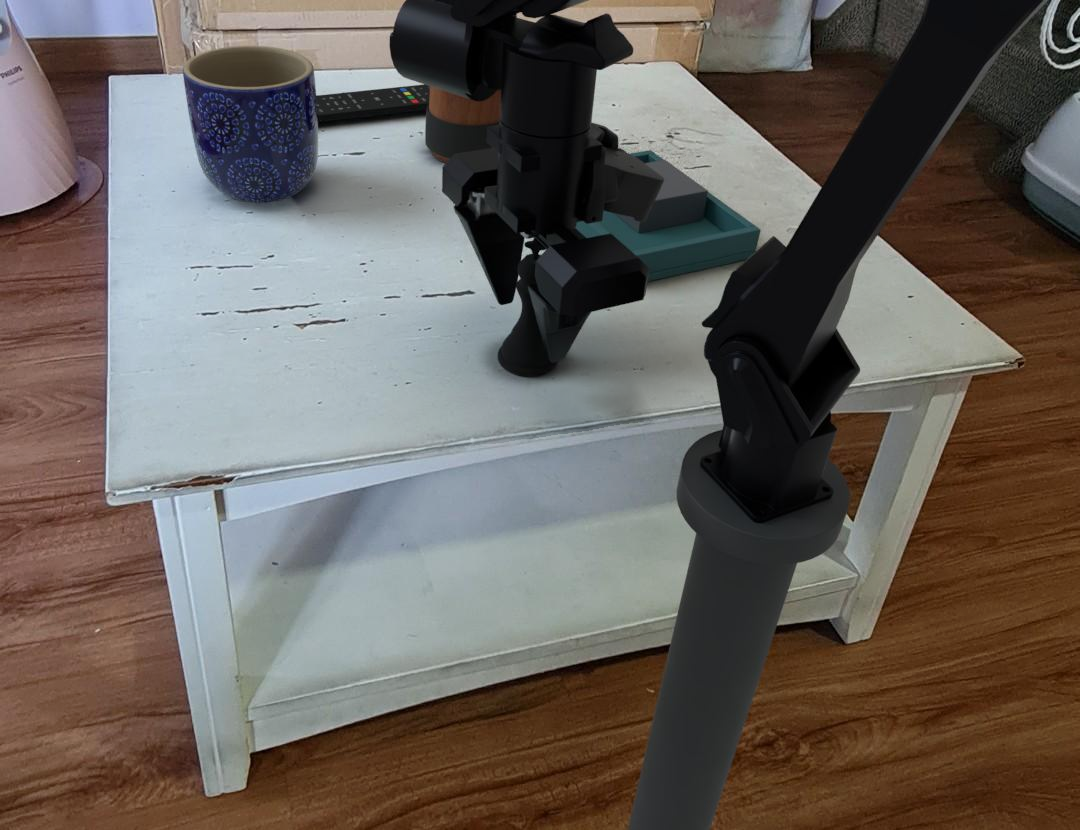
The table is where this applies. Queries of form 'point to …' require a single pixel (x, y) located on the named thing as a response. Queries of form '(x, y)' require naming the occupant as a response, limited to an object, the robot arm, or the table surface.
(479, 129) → the mug
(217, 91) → the planter
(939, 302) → the table surface
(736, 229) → the tray
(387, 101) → the remote control
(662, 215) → the block
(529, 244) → the chess piece
